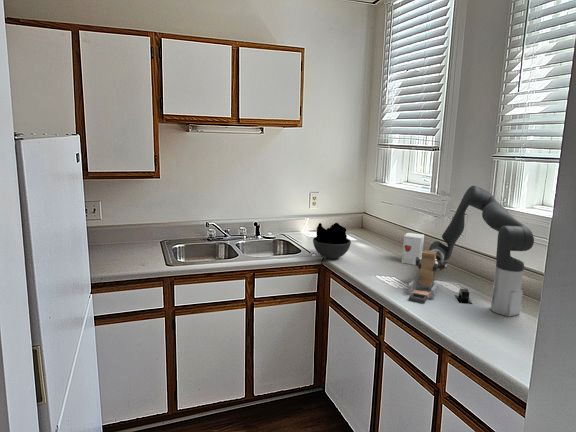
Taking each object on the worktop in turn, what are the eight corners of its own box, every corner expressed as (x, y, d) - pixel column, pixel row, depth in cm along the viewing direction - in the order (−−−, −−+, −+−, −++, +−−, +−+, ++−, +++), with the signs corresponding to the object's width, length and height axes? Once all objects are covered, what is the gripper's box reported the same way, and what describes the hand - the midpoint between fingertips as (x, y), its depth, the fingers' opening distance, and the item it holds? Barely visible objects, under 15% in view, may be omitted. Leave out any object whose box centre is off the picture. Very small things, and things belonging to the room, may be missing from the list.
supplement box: (400, 262, 222) (403, 235, 219) (404, 258, 230) (407, 232, 227) (418, 265, 218) (421, 237, 215) (421, 261, 225) (424, 234, 223)
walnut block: (421, 280, 187) (424, 250, 184) (433, 282, 184) (436, 251, 182) (419, 283, 182) (422, 252, 180) (431, 286, 180) (434, 254, 178)
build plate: (476, 307, 166) (477, 296, 165) (456, 305, 168) (457, 294, 167) (468, 296, 178) (469, 285, 178) (450, 294, 180) (451, 284, 179)
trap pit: (412, 295, 175) (412, 292, 174) (427, 298, 172) (427, 295, 172) (408, 300, 170) (409, 296, 169) (424, 303, 167) (424, 300, 166)
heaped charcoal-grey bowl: (355, 257, 229) (357, 223, 226) (340, 266, 212) (342, 229, 209) (322, 251, 239) (323, 218, 236) (305, 259, 222) (307, 224, 219)
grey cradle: (412, 288, 184) (413, 279, 183) (437, 293, 179) (438, 284, 178) (407, 294, 176) (408, 285, 175) (433, 299, 171) (434, 290, 171)
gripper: (419, 248, 197) (410, 256, 182) (451, 253, 190) (445, 262, 176) (417, 263, 198) (409, 273, 184) (449, 269, 192) (443, 279, 177)
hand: (426, 267), depth 180 cm, fingers closed on walnut block, 5 cm apart
